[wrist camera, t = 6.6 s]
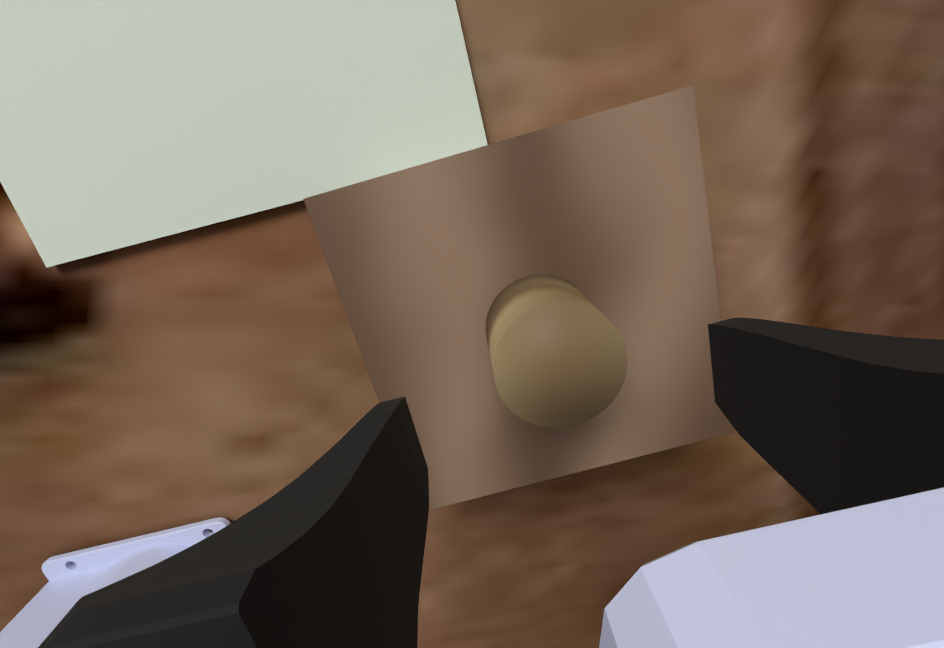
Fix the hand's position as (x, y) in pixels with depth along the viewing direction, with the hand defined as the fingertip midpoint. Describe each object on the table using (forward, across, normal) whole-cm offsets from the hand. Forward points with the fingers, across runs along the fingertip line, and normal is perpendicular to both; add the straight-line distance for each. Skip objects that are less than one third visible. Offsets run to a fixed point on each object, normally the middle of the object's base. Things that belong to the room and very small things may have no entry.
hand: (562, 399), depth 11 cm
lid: (+6, 0, 0) cm, 6 cm away
